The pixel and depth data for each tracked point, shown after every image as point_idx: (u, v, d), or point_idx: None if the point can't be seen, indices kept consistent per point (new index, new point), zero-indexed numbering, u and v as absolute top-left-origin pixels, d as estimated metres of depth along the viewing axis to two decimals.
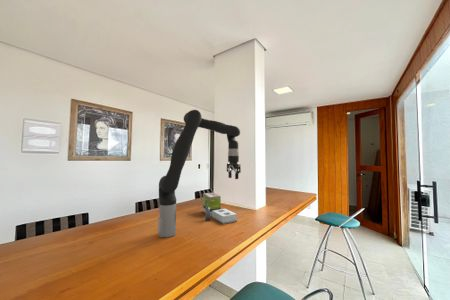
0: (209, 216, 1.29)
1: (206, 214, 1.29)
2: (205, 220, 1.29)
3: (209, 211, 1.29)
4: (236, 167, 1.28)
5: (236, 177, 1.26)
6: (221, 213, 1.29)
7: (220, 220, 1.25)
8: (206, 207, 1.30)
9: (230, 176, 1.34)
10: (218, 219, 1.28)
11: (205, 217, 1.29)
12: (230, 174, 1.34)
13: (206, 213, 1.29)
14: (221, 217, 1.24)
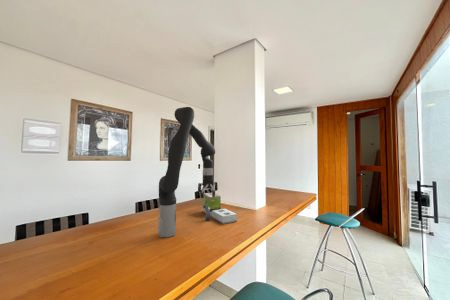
0: (209, 216, 1.29)
1: (206, 214, 1.29)
2: (205, 220, 1.29)
3: (209, 211, 1.29)
4: None
5: (214, 195, 1.32)
6: (221, 213, 1.29)
7: (220, 220, 1.25)
8: (206, 207, 1.30)
9: None
10: (218, 219, 1.28)
11: (205, 217, 1.29)
12: None
13: (206, 213, 1.29)
14: (221, 217, 1.24)
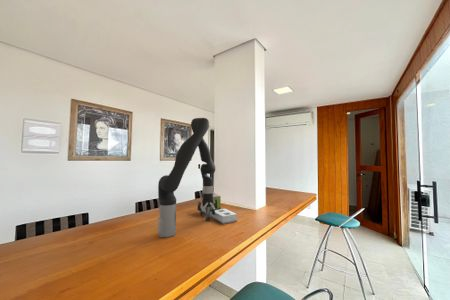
0: (209, 216, 1.29)
1: (206, 214, 1.29)
2: (205, 220, 1.29)
3: (209, 211, 1.29)
4: (211, 203, 1.32)
5: (214, 213, 1.32)
6: (221, 213, 1.29)
7: (220, 220, 1.25)
8: (206, 207, 1.30)
9: None
10: (218, 219, 1.28)
11: (205, 217, 1.29)
12: None
13: (206, 213, 1.29)
14: (221, 217, 1.24)
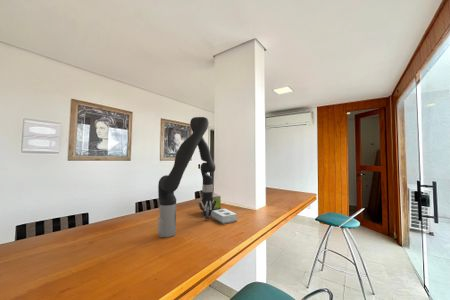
0: (208, 214, 1.29)
1: None
2: None
3: (208, 209, 1.29)
4: None
5: (210, 213, 1.31)
6: (221, 213, 1.29)
7: (220, 220, 1.25)
8: None
9: None
10: (218, 219, 1.28)
11: None
12: None
13: None
14: (221, 217, 1.24)
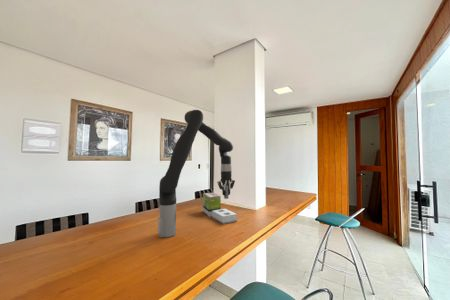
0: None
1: (225, 192, 1.28)
2: None
3: None
4: None
5: (229, 193, 1.30)
6: (221, 213, 1.29)
7: (220, 220, 1.25)
8: None
9: None
10: (218, 219, 1.28)
11: None
12: None
13: (225, 191, 1.28)
14: (221, 217, 1.24)
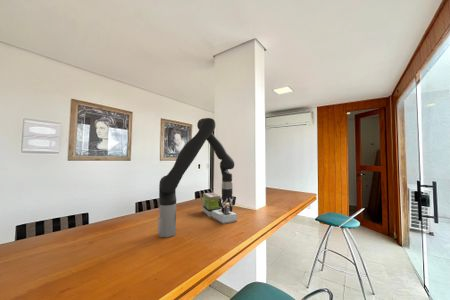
0: None
1: (225, 213, 1.27)
2: None
3: (228, 210, 1.28)
4: None
5: (231, 210, 1.30)
6: (221, 213, 1.29)
7: (220, 220, 1.25)
8: (225, 206, 1.28)
9: None
10: (218, 219, 1.28)
11: None
12: None
13: (225, 212, 1.27)
14: (221, 217, 1.24)
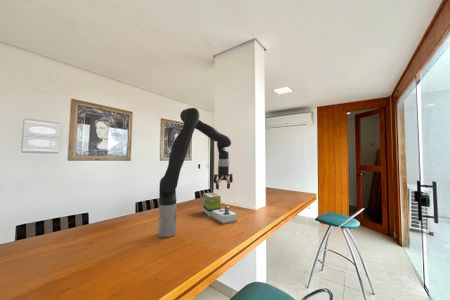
0: None
1: (225, 213, 1.27)
2: None
3: (228, 210, 1.28)
4: None
5: (229, 187, 1.31)
6: (221, 213, 1.29)
7: (220, 220, 1.25)
8: (225, 206, 1.28)
9: None
10: (218, 219, 1.28)
11: None
12: None
13: (225, 212, 1.27)
14: (221, 217, 1.24)
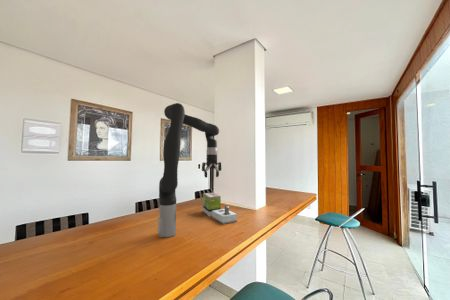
0: None
1: (225, 213, 1.27)
2: None
3: (228, 210, 1.28)
4: None
5: (218, 175, 1.32)
6: (221, 213, 1.29)
7: (220, 220, 1.25)
8: (225, 206, 1.28)
9: None
10: (218, 219, 1.28)
11: None
12: None
13: (225, 212, 1.27)
14: (221, 217, 1.24)
